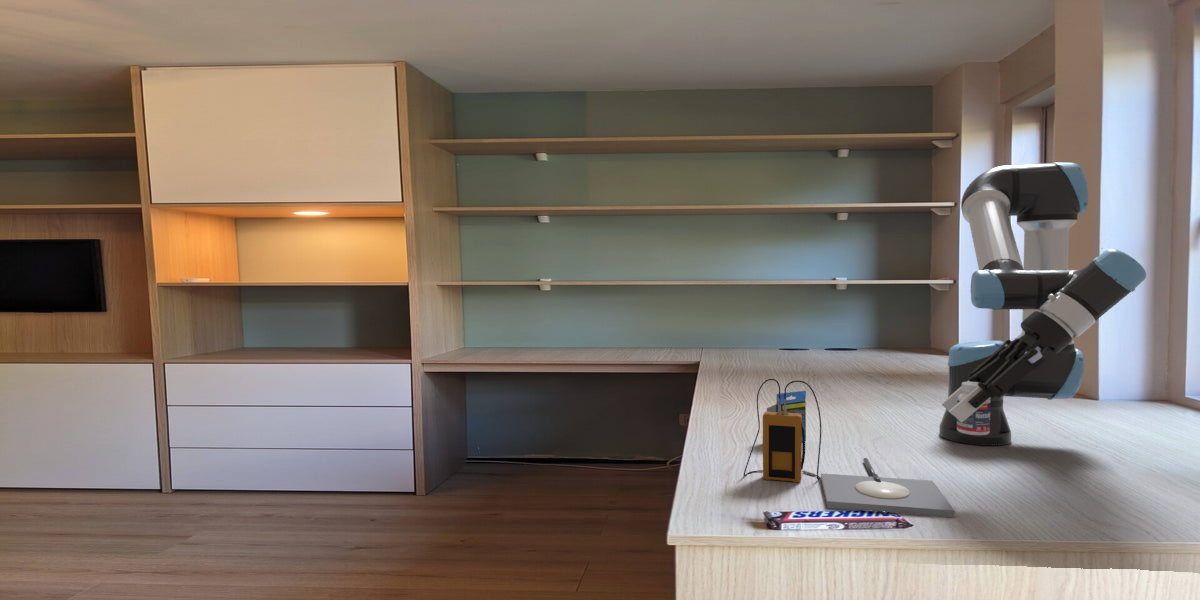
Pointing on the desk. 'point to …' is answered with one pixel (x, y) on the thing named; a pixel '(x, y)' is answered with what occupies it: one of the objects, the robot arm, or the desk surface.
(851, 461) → the desk surface
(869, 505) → the board
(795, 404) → the label tape cartridge
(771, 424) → the multimeter
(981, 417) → the pill bottle
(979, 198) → the robot arm
